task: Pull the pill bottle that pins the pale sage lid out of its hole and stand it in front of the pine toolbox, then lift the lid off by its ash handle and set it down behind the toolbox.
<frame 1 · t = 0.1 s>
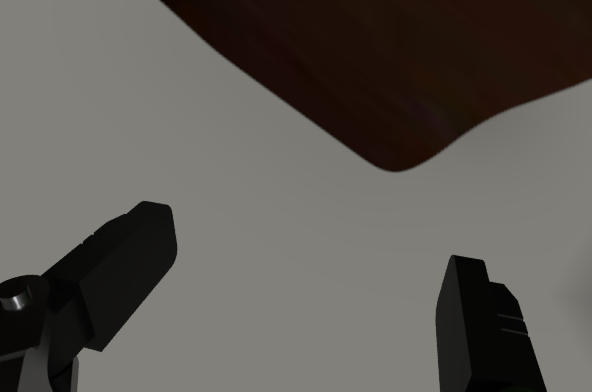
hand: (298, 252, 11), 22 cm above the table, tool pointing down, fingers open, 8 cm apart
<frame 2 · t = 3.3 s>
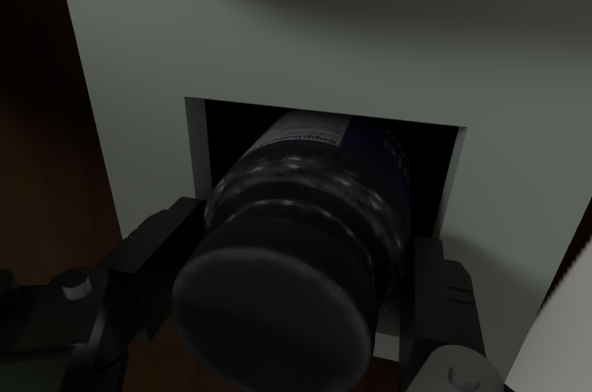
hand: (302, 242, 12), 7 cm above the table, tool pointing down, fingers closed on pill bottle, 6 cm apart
toolbox lid: (324, 91, 11), point 5 cm above the table, touching toolbox
toolbox: (350, 57, 16), on the table
pill bottle: (342, 147, 18), resting in toolbox, touching gripper
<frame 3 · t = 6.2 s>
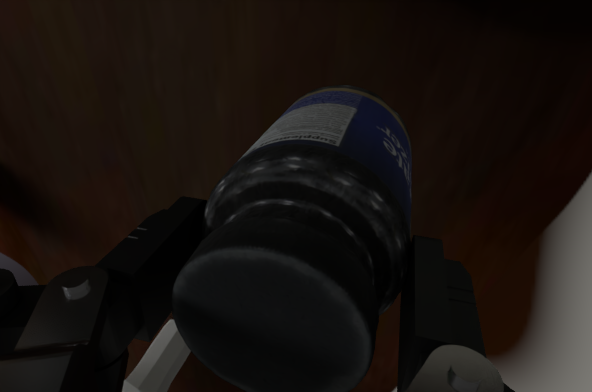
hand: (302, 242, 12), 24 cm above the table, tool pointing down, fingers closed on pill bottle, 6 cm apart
table 2: (181, 331, 55), on the table
pill bottle: (342, 147, 18), point 16 cm above the table, touching gripper
when the fingers open (9 cm above the table, at t = 9.1 s): pill bottle drops 1 cm, on the table.
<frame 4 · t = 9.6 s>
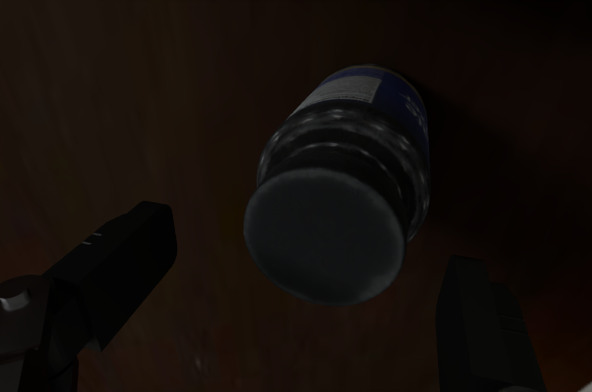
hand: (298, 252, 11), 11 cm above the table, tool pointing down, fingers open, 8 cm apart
pill bottle: (365, 120, 20), on the table
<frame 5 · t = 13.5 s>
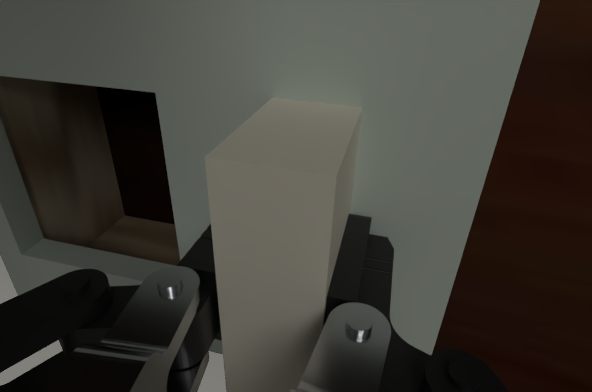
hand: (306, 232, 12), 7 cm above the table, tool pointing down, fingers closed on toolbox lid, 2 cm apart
toolbox lid: (194, 190, 14), point 5 cm above the table, touching gripper, toolbox
toolbox: (248, 136, 19), on the table
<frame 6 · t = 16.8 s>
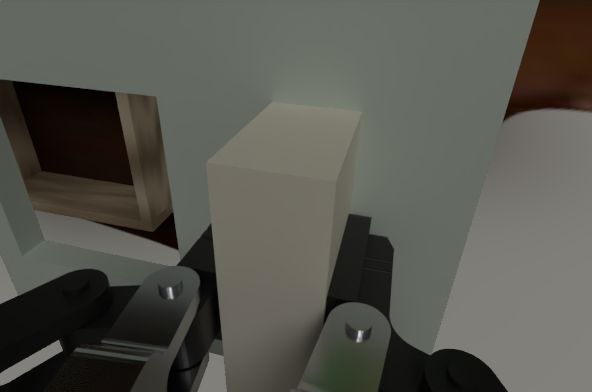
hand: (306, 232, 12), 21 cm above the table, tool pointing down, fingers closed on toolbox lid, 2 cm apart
toolbox lid: (195, 192, 14), point 20 cm above the table, touching gripper
toolbox: (91, 127, 39), on the table
when the fingers open (3 cm above the table, at t = 20.4 s): toolbox lid drops 2 cm, on the table.
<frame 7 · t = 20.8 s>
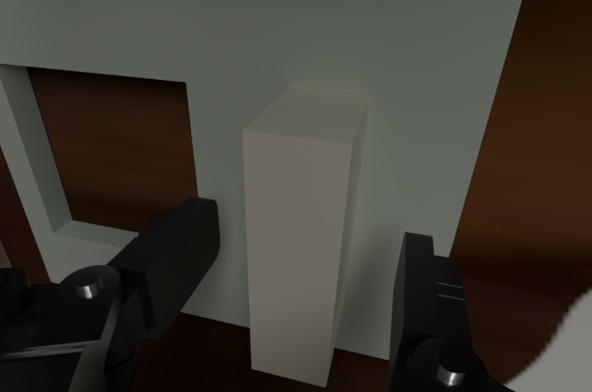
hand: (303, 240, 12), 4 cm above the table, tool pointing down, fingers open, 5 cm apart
toolbox lid: (215, 172, 16), on the table
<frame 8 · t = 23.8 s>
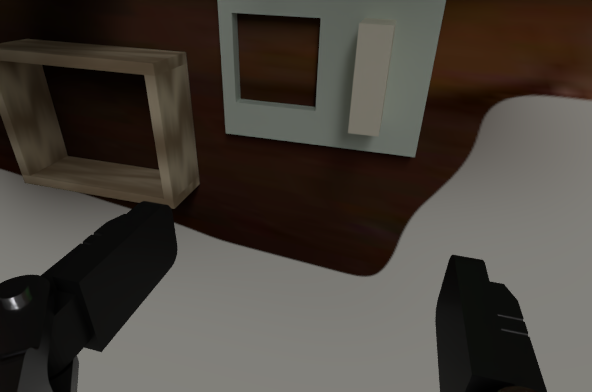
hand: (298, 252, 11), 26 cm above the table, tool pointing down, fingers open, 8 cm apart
toolbox lid: (322, 64, 34), on the table
toolbox: (116, 114, 42), on the table
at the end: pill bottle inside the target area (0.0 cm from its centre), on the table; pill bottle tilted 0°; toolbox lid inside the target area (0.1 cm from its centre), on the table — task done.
